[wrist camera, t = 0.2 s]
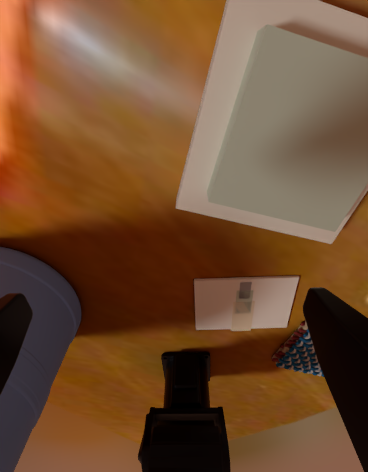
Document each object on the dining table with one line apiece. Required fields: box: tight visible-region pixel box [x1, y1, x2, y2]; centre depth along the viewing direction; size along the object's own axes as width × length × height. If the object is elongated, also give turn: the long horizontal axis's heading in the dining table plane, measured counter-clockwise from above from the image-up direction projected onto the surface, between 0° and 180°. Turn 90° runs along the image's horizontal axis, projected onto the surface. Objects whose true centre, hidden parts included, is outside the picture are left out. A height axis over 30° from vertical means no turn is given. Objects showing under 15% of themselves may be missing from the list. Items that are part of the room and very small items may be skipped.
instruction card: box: [194, 275, 299, 331], centre depth 29 cm, size 8×11×1 cm
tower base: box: [176, 0, 368, 244], centre depth 17 cm, size 14×14×4 cm
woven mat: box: [271, 321, 324, 377], centre depth 32 cm, size 10×11×2 cm
